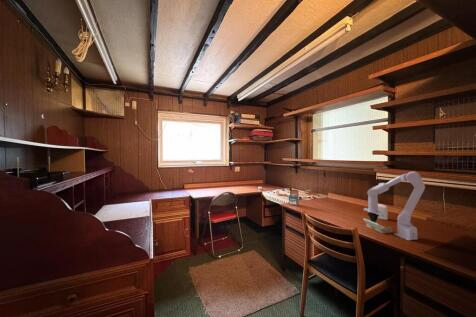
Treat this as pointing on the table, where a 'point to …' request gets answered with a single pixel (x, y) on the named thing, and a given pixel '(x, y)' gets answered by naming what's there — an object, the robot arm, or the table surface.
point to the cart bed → (385, 229)
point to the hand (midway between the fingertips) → (373, 223)
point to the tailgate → (372, 224)
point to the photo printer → (383, 211)
